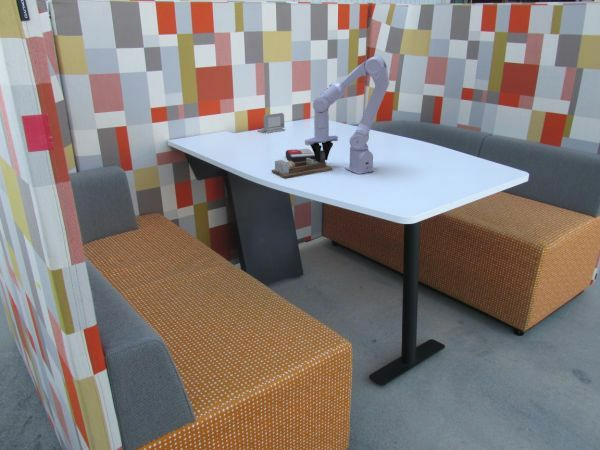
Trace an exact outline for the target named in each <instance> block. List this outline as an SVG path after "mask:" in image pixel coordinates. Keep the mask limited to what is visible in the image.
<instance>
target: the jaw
mask: <svg viewBox="0 0 600 450" xmlns="http://www.w3.org/2000/svg"><path fill="white" fill-rule="evenodd" d="M322 162H325V163H326V166H328V165H327V164H328V163H327V162H326V160H325V151H324V150H323V149H322V150H321V151H320V161H314V160H313V159H310V158H306V165H311V164H316V163H322Z"/></svg>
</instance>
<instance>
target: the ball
mask: <svg viewBox="0 0 600 450" xmlns="http://www.w3.org/2000/svg"><path fill="white" fill-rule="evenodd" d="M286 162H287V163H289V164H290V168H293V167H295V163H294V162H292V161H288V160H287V161H286Z"/></svg>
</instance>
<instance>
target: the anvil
mask: <svg viewBox="0 0 600 450" xmlns="http://www.w3.org/2000/svg"><path fill="white" fill-rule="evenodd" d="M287 162H288V161H285V160H282V159H279V160H275V161H274V169H275V171H276V172H278V173H280V174H283V175H286V174H289V171H290V164H289V163H287Z"/></svg>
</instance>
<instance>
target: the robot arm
mask: <svg viewBox="0 0 600 450" xmlns="http://www.w3.org/2000/svg"><path fill="white" fill-rule="evenodd" d="M367 75H369V77H371V79H372V81H373V84H374V85H375V86H374V87H373V90H372V92H371V95H370V97H369V100H368V103H367V104H366V107H365V110H364V112H363V114H362V117H361V119H360V121H359V124H358V126H357V128H356V130H355V132H354V133H353V134H352V135H351V136H350V138H349V145H350V146H349V166H348V167H347V166H346V167H344V169H345V170H347V171H350V172H351V173H355V174H358V175H361V174H366V173H371V172H372V173H373V172H375V169H373V168H374V154H373V153H372V152H371V151H370V149H369V145H368V144H367V143H368V142H369V137H370V136H369V135H370V130H371V129H372V128H371V127H372V126H373V123H374V120H375V118H376V116H377V114H378V111H379V109H380V106H381V104H382V102H383V100H384V97H385V95H386V92H387V90H388V88H389V85H390V78H389V74H388V65H387V62H386V61H385V60H384V58H383V57H382V56H380V55H374V56H372V57H369V58H367V60H365V61H364V62H362V63H361V64H359V65H358V66H356V67H355V68H354V69H352V71H351V72H349V74H348V75H347V76H345V77H344V78H343V79H342V80H341V81H340V82H334V83H330V84H329V85H328V88H327V89H326V90H325V91H322V92H320V94H319V95H320V96H317V97H316V98H315V99H314V100H313V103H312V107H313V109H314V117H313V118H314V119H313V120H314V121H313V123H314V127H313V128H314V131H313V132H314V133H313V134H314V136H313V137H311V138H308V139H305V140H304V145H305V146H310V148H311V149H312V150H311V151H312V152H313V153H314V155H315V159H316V161H320V151H321V149H322V150H324V151H325V161H328V158H329V155H330V151H331V149H332V147H333V146H334V143H333V142H338V141H339V138H338V137H339V136H337V135H329V133H330V132H329V130H330V128H329V127H330V126H329V125H330V123H329V121H330V120H329V117H330V116H329V109H330V106H331V105H332V106H333V104H335V102H337V101H338V100H340V99H341V97H343V96H344V95H345V90H346V89H347V88H348V87H349V86H350V85H352V84H353V83H354V82H355V81H356V80H357V79H359V78H360V77H364V76H367Z"/></svg>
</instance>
